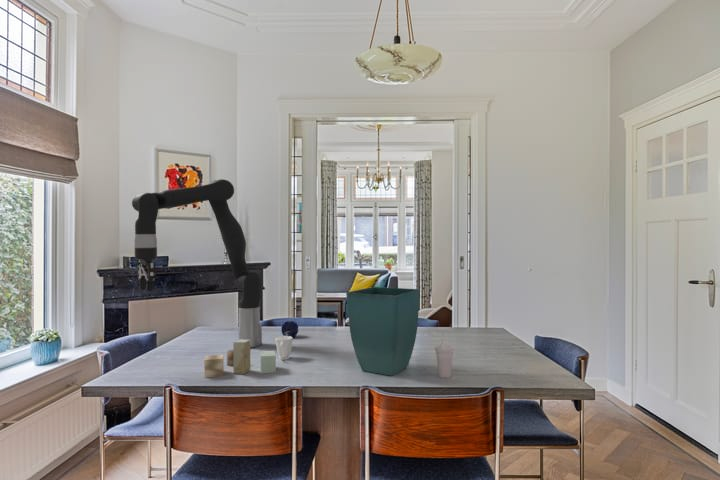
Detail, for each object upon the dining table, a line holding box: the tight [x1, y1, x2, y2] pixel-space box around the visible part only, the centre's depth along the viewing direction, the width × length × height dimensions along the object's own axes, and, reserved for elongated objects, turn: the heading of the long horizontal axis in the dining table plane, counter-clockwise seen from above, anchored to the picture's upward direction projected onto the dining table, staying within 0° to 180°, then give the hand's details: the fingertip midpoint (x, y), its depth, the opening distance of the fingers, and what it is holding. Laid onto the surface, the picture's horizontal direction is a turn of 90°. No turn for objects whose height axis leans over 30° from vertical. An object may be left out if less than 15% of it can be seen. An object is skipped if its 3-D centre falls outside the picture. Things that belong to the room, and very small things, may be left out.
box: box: [232, 339, 251, 375], centre depth 154 cm, size 5×4×11 cm
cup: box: [275, 335, 294, 361], centre depth 170 cm, size 7×10×8 cm
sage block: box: [259, 350, 277, 374], centre depth 156 cm, size 5×7×6 cm
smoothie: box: [434, 333, 455, 379], centre depth 146 cm, size 6×6×14 cm
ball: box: [281, 320, 299, 338], centre depth 210 cm, size 8×8×8 cm
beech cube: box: [204, 354, 225, 378], centre depth 152 cm, size 6×6×6 cm
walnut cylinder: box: [226, 349, 233, 367], centre depth 164 cm, size 5×5×5 cm
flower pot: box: [345, 286, 421, 376], centre depth 154 cm, size 20×20×28 cm
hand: (146, 290), depth 161 cm, fingers open, 8 cm apart
